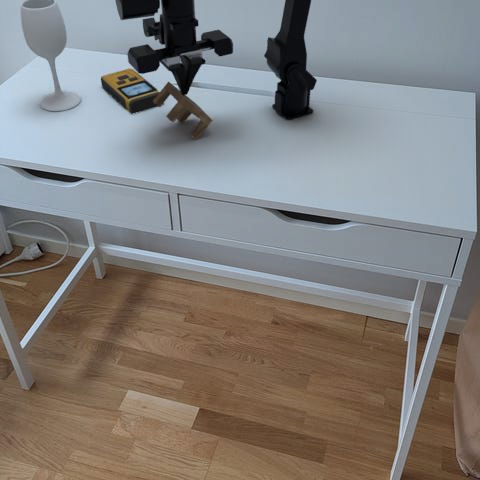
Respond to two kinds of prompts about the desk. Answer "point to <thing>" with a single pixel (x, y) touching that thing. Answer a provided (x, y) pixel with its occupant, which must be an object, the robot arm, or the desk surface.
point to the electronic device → (130, 90)
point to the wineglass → (47, 46)
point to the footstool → (183, 109)
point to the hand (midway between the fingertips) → (184, 94)
